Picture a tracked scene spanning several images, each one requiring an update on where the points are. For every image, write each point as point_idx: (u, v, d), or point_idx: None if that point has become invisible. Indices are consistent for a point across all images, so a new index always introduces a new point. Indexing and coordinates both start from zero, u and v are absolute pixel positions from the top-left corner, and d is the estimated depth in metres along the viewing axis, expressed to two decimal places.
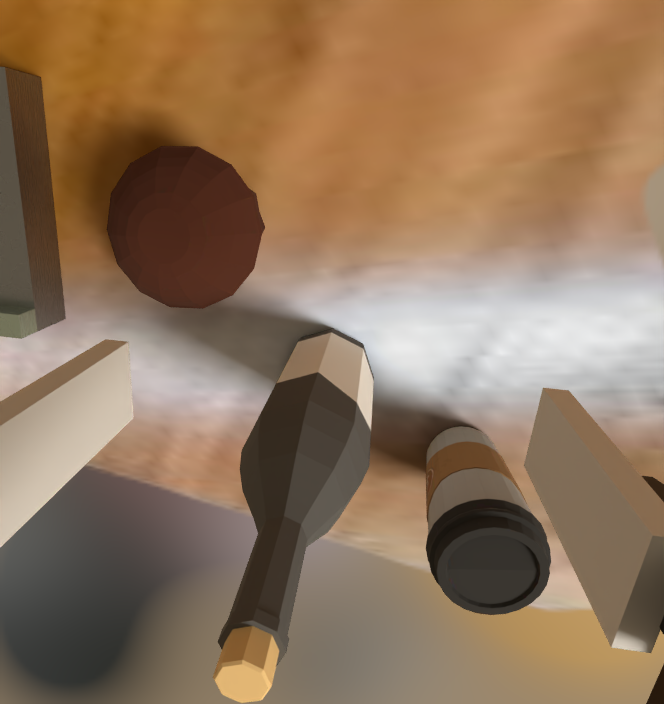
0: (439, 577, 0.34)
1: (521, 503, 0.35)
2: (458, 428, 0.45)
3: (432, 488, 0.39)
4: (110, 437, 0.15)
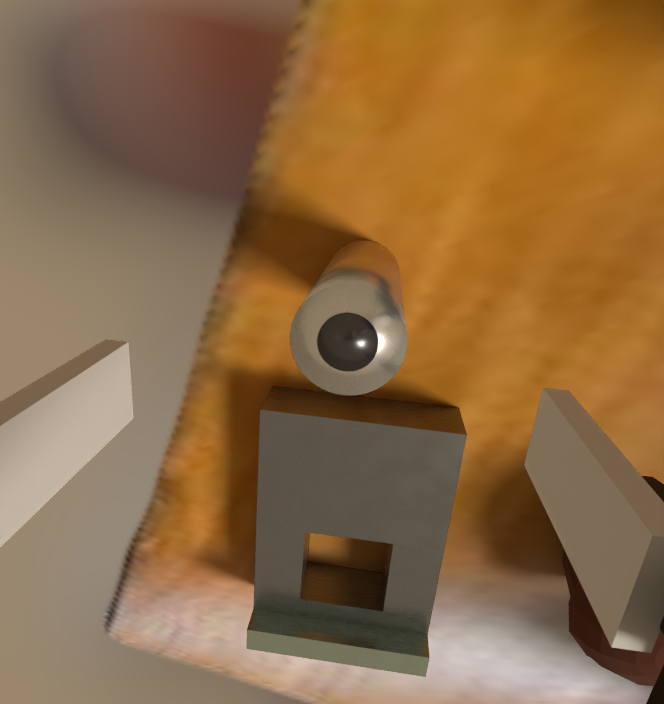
0: None
1: None
2: None
3: None
4: (110, 437, 0.15)
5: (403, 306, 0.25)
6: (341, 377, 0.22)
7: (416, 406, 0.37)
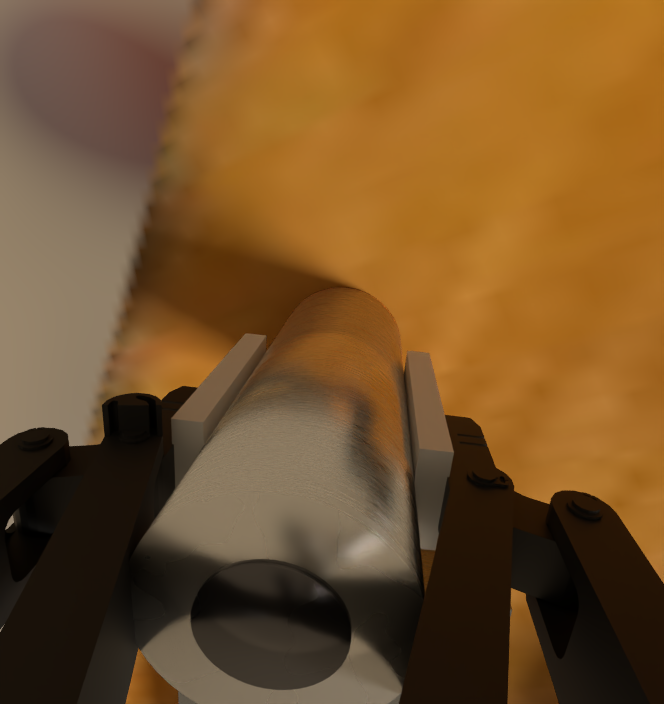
0: None
1: None
2: None
3: None
4: None
5: None
6: (261, 694, 0.09)
7: None
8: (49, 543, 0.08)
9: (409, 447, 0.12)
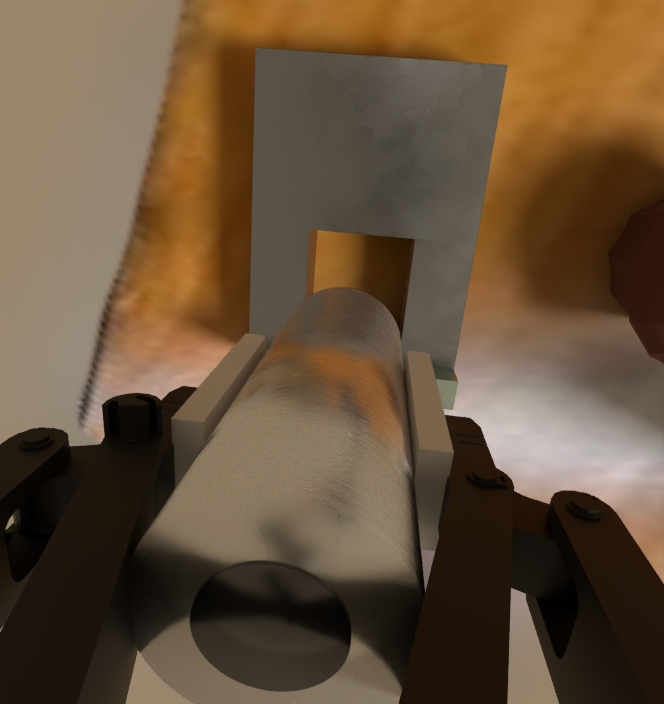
0: None
1: None
2: None
3: None
4: None
5: None
6: (261, 696, 0.09)
7: None
8: (49, 543, 0.08)
9: (409, 448, 0.12)
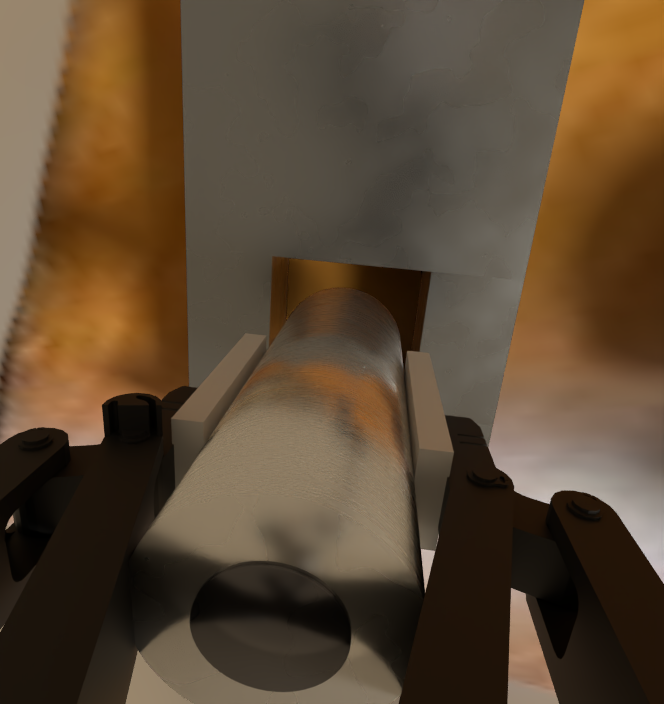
0: None
1: None
2: None
3: None
4: None
5: None
6: (261, 696, 0.09)
7: None
8: (49, 543, 0.08)
9: (409, 448, 0.12)
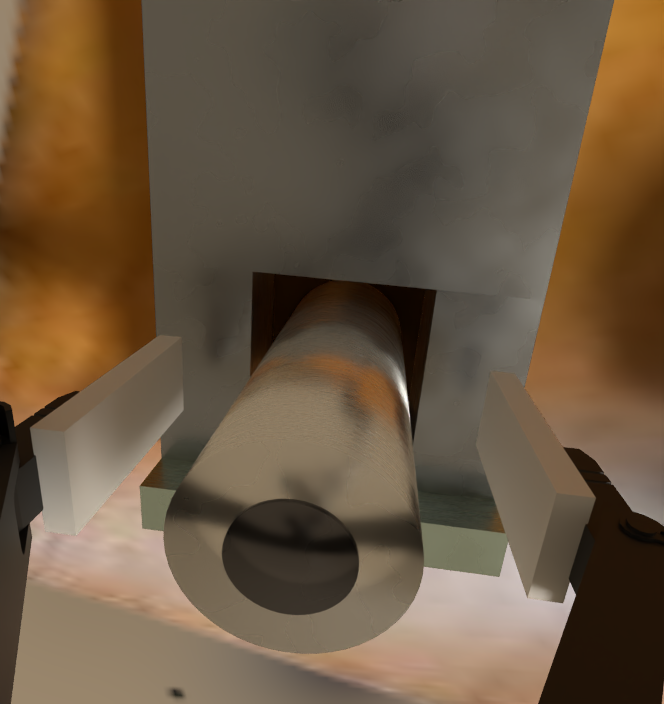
0: None
1: None
2: None
3: None
4: (166, 427, 0.16)
5: (410, 429, 0.13)
6: (281, 621, 0.10)
7: None
8: None
9: (408, 417, 0.13)
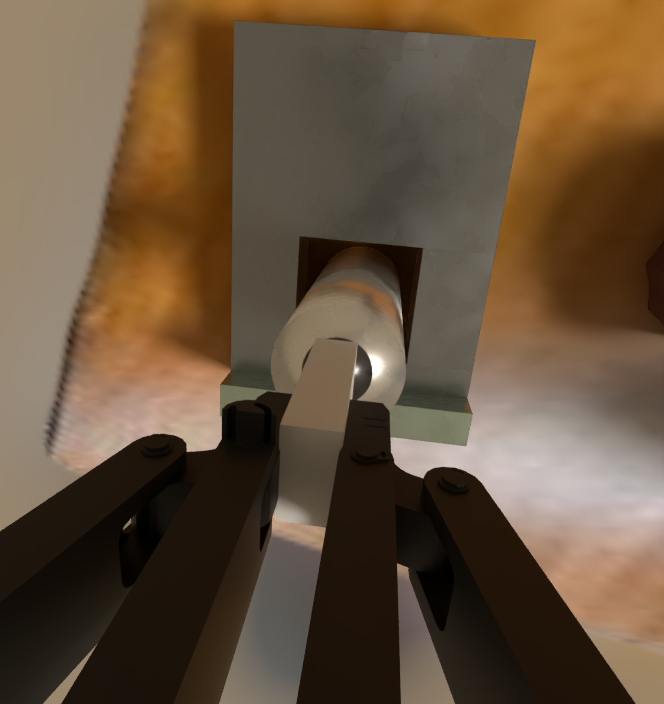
0: None
1: None
2: None
3: None
4: None
5: (402, 325, 0.22)
6: None
7: None
8: (161, 542, 0.08)
9: (401, 318, 0.22)
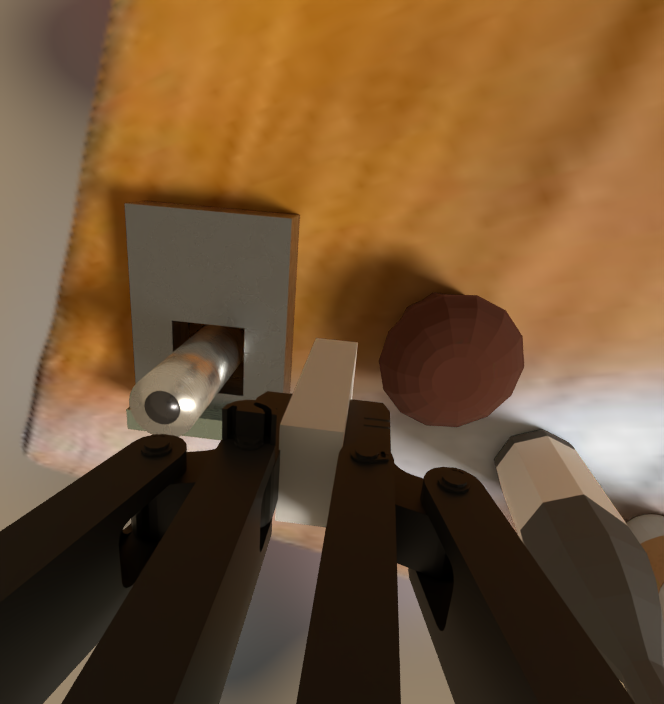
0: None
1: None
2: (652, 517, 0.50)
3: None
4: None
5: (214, 378, 0.39)
6: (162, 427, 0.36)
7: (263, 212, 0.44)
8: (161, 542, 0.08)
9: (214, 375, 0.40)
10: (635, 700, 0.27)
